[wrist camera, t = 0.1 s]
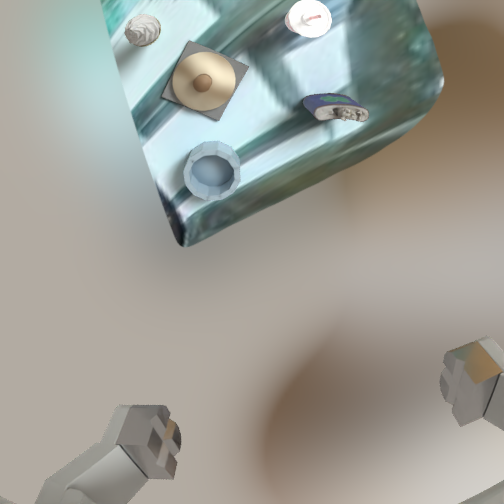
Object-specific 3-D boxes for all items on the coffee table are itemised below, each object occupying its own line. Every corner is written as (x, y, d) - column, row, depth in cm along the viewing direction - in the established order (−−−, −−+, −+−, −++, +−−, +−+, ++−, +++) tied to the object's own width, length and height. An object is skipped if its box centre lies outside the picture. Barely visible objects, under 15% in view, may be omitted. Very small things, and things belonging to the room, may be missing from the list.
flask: (302, 108, 52) (316, 124, 43) (302, 92, 50) (317, 105, 41) (351, 109, 52) (374, 125, 43) (352, 93, 50) (375, 107, 42)
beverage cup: (307, 43, 44) (331, 46, 33) (274, 28, 42) (287, 25, 31) (322, 14, 41) (350, 9, 30) (288, -1, 39) (307, -13, 28)
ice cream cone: (176, 22, 41) (155, 18, 29) (163, 48, 43) (138, 53, 32) (149, 14, 39) (120, 8, 27) (137, 39, 42) (104, 43, 30)
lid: (190, 42, 43) (186, 43, 40) (246, 67, 46) (247, 69, 43) (163, 95, 48) (158, 100, 45) (218, 118, 52) (216, 124, 49)
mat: (189, 40, 43) (189, 40, 42) (248, 66, 47) (249, 66, 46) (162, 96, 49) (161, 96, 48) (218, 120, 52) (218, 120, 52)
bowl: (200, 132, 54) (197, 140, 50) (249, 155, 57) (250, 164, 53) (179, 177, 59) (175, 187, 55) (225, 196, 62) (224, 208, 59)
